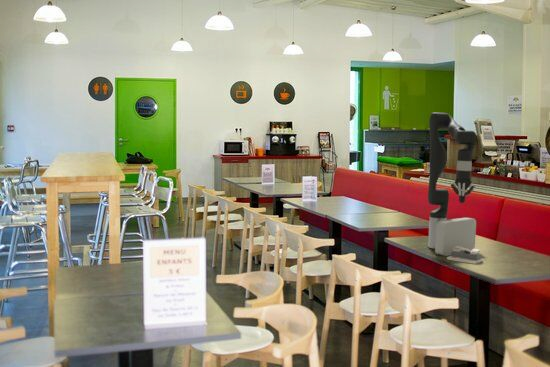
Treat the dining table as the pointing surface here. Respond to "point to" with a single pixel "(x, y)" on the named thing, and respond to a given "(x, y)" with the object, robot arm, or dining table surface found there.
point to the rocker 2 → (474, 251)
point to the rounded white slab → (455, 235)
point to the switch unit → (465, 257)
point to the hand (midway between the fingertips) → (461, 202)
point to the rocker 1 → (457, 248)
